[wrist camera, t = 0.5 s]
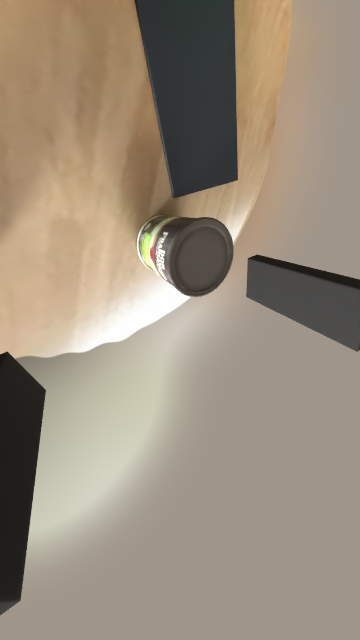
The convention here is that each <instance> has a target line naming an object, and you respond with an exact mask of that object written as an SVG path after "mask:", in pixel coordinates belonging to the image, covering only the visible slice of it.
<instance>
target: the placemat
mask: <svg viewBox="0 0 360 640" xmlns="http://www.w3.org/2000/svg"><path fill="white" fill-rule="evenodd" d="M135 3H136V8H137V13H138V19H139V24H140V29H141V34H142V39H143V44H144V50H145V55H146V60H147V65H148V70H149V75H150V81H151V86H152V91H153V96H154V101H155V106H156V112H157V117H158V122H159V127H160V132H161V137H162V143H163V148H164V153H165V158H166V163H167V168H168V174H169V179H170V184H171V189H172V194H173V198H176V197H180V196H183V195H187V194H190V193H194V192H197V191H201V190H205V189H208V188H212V187H215V186H219V185H222V184H226V183H229V182H233V181H236V180H238V166H237V118H236V70H235V22H234V0H135Z"/></svg>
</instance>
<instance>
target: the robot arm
mask: <svg viewBox="0 0 360 640" xmlns="http://www.w3.org/2000/svg"><path fill="white" fill-rule="evenodd" d="M246 296H247V297H248V298H250V299H252V300H254V301H256V302H258V303H260V304H262V305H264V306H266V307H268V308H270V309H272V310H274V311H276V312H278V313H280V314H282V315H284V316H286V317H288V318H290V319H292V320H294V321H296V322H298V323H300V324H302V325H304V326H306V327H308V328H310V329H312V330H314V331H316V332H319V333H320V334H323V335H324V336H326V337H329V338H331V339H333V340H335V341H337V342H339V343H341V344H343V345H345V346H347V347H349V348H351V349H353V350H355V351H359V350H360V280H359V279H355V278H351V277H347V276H343V275H339V274H335V273H330V272H326V271H322V270H318V269H314V268H310V267H305V266H302V265H297V264H294V263H289V262H285V261H281V260H277V259H273V258H269V257H265V256H261V255H255V256H252V257H250V258H248V272H247V295H246ZM45 392H46V390H45V389H44V388H43V387H42V386H41V385H40V384H39V383H38V382H37V381H36V380H35V379H34V378H33V377H32V376H31V375H30V374H29V373H28V372H27V371H26V370H25V369H24V368H23V367H22V366H21V365H20V364H19V363H18V362H17V361H16V360H15V359H14V358H13V357H12V356H11V355H10V354H9V353H8V352H5V353H3V354H0V615H1V614H3V613H4V612H5V611H7V610H8V609H9V608H11V607H12V606H14V605H15V604H16V603H18V602H19V601H20V599H21V592H22V584H23V575H24V567H25V558H26V550H27V542H28V534H29V525H30V517H31V509H32V501H33V491H34V484H35V476H36V467H37V459H38V451H39V442H40V434H41V426H42V417H43V409H44V400H45Z"/></svg>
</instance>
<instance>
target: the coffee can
mask: <svg viewBox="0 0 360 640" xmlns="http://www.w3.org/2000/svg"><path fill="white" fill-rule="evenodd" d="M137 250H138V254H139V257H140V259H141V261H142V262H143V263H144V265H145V266H146V267H148V268H149V269H150V270H152V271H154V272H155V273H156V274H158V275H159V276H161V277H162V278H163V279H165V280H166V281H167V282H169V283H170V284H172V285H173V286H174V287H175V288H176V289H177V290H178V291H180V292H181V293H182V294H184V295H187V296H190V297H200V296H204V295H207V294H209V293H210V292H212V291H214V290H215V289H216V288H217V287H218V286H219V285H220V284H221V283H222V282H223V280H224V279H225V278H226V276H227V274H228V272H229V270H230V267H231V264H232V260H233V241H232V238H231V235H230V233H229V231H228V229H227V228H226V227H225V226H224V224H222V223H221V222H220V221H218V220H216V219H214V218H209V217H202V218H188V217H174V216H166V215H159V216H155V217H153V218H151V219H149V220H148V221H147V222H146V223H145V224H144V225H143V226H142V228H141V230H140V232H139V234H138V239H137Z"/></svg>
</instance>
